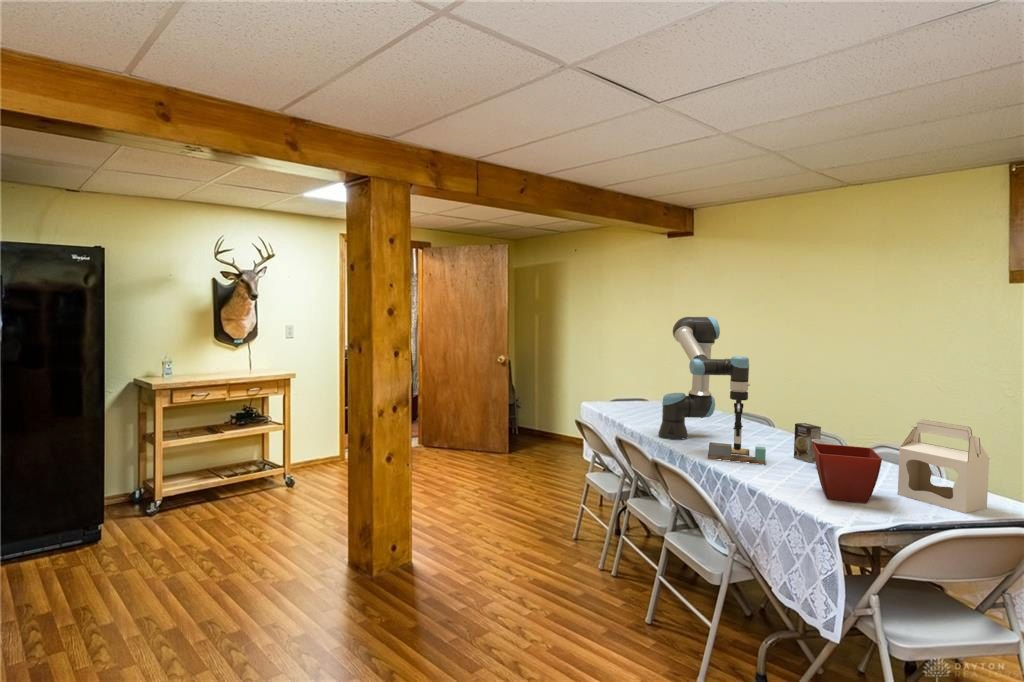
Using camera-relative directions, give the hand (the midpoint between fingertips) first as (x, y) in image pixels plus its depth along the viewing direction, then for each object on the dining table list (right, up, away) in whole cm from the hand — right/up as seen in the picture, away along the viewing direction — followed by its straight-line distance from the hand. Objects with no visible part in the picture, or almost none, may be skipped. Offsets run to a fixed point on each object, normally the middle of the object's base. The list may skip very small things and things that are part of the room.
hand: (737, 442), depth 253 cm
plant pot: (+18, -11, -50) cm, 54 cm away
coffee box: (+32, -9, +2) cm, 34 cm away
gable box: (+50, -11, -54) cm, 75 cm away
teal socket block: (+9, -7, -3) cm, 12 cm away
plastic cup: (+32, -9, -13) cm, 36 cm away
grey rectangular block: (-7, -6, +3) cm, 10 cm away
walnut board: (-1, -8, +1) cm, 8 cm away
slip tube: (-2, -5, +1) cm, 6 cm away
